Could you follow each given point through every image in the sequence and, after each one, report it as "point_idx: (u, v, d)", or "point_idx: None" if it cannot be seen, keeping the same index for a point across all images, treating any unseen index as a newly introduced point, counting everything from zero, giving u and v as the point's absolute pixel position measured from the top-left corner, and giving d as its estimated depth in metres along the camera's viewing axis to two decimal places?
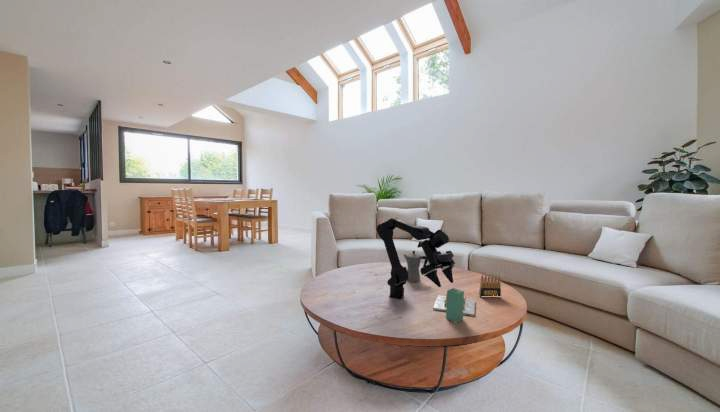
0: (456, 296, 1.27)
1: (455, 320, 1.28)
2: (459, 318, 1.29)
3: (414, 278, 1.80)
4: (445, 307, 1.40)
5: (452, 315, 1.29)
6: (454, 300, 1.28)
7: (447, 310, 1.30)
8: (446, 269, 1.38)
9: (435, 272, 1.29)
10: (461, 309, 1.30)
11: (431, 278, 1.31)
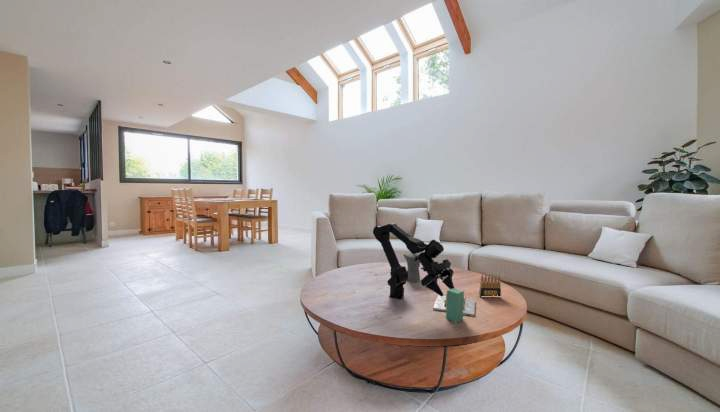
0: (456, 296, 1.27)
1: (455, 320, 1.28)
2: (459, 318, 1.29)
3: (414, 278, 1.80)
4: (445, 307, 1.40)
5: (452, 315, 1.29)
6: (454, 300, 1.28)
7: (447, 310, 1.30)
8: (446, 278, 1.39)
9: (435, 281, 1.30)
10: (461, 309, 1.30)
11: (432, 288, 1.32)
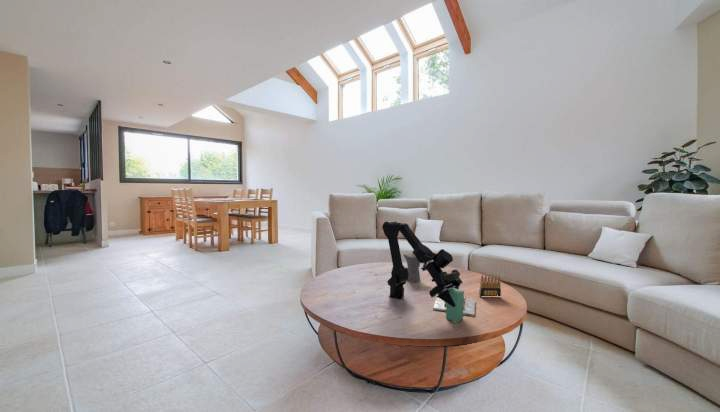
0: (456, 296, 1.27)
1: (455, 320, 1.28)
2: (459, 318, 1.29)
3: (414, 278, 1.80)
4: (445, 307, 1.40)
5: (452, 315, 1.29)
6: (454, 300, 1.28)
7: (447, 310, 1.30)
8: None
9: (447, 292, 1.28)
10: (461, 309, 1.30)
11: (444, 299, 1.30)
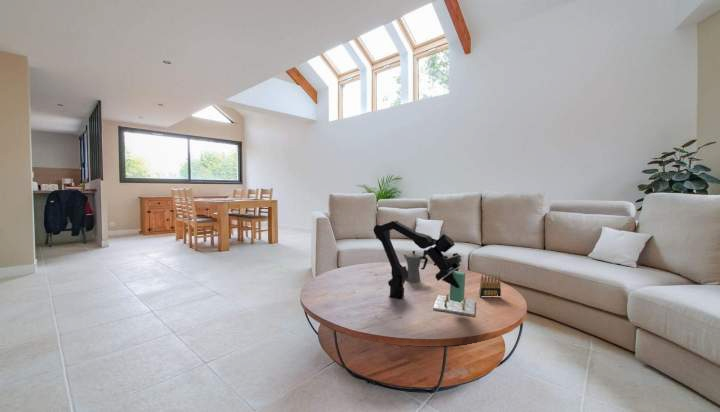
0: (460, 278, 1.34)
1: (459, 300, 1.34)
2: (462, 298, 1.36)
3: (414, 278, 1.80)
4: (445, 307, 1.40)
5: (456, 296, 1.35)
6: (459, 281, 1.34)
7: (451, 292, 1.36)
8: None
9: (452, 274, 1.34)
10: (463, 290, 1.37)
11: (448, 281, 1.35)
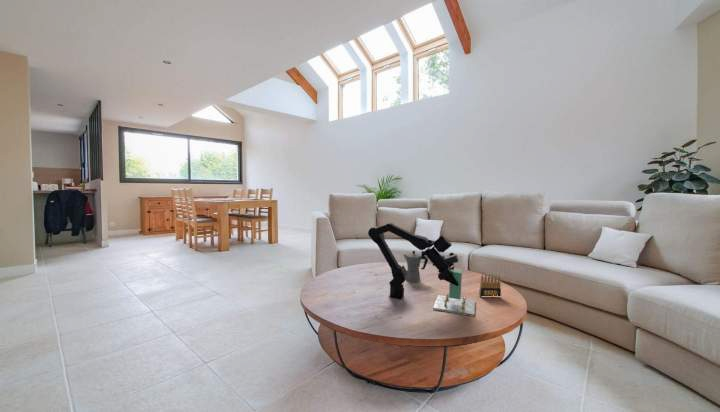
0: (460, 276, 1.41)
1: (459, 297, 1.42)
2: (460, 295, 1.44)
3: (414, 278, 1.80)
4: (445, 307, 1.40)
5: (455, 293, 1.42)
6: (458, 279, 1.41)
7: (450, 290, 1.43)
8: None
9: (452, 273, 1.41)
10: None
11: (448, 280, 1.41)
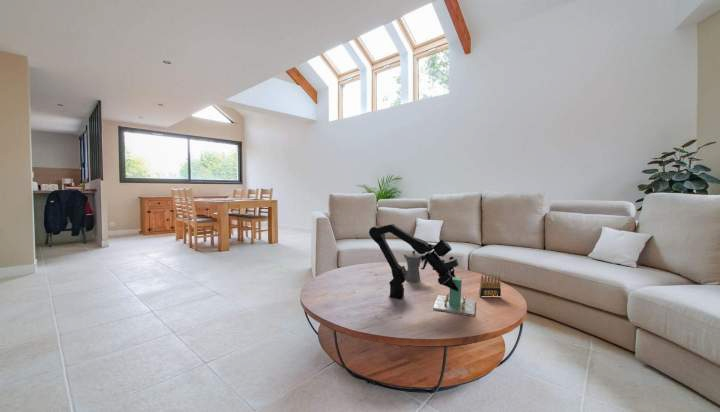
0: (459, 283, 1.41)
1: (459, 304, 1.42)
2: (460, 302, 1.44)
3: (414, 278, 1.80)
4: (445, 307, 1.40)
5: (455, 300, 1.42)
6: (458, 286, 1.42)
7: (450, 297, 1.43)
8: None
9: None
10: None
11: (448, 285, 1.40)
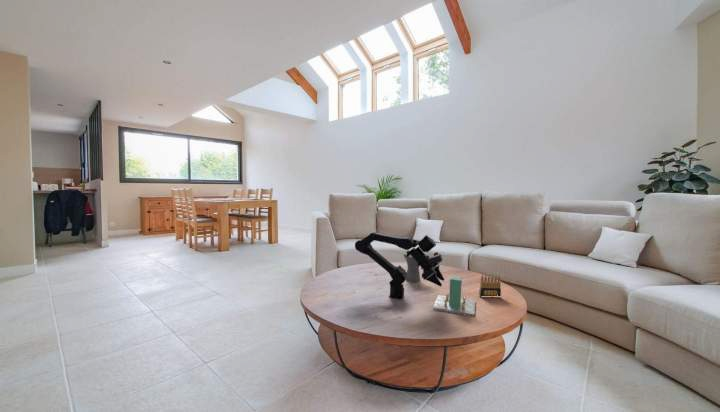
0: (459, 283, 1.41)
1: (459, 304, 1.42)
2: (460, 302, 1.44)
3: (414, 278, 1.80)
4: (445, 307, 1.40)
5: (455, 300, 1.42)
6: (458, 286, 1.42)
7: (450, 297, 1.43)
8: (434, 270, 1.53)
9: (435, 273, 1.42)
10: None
11: (432, 280, 1.43)
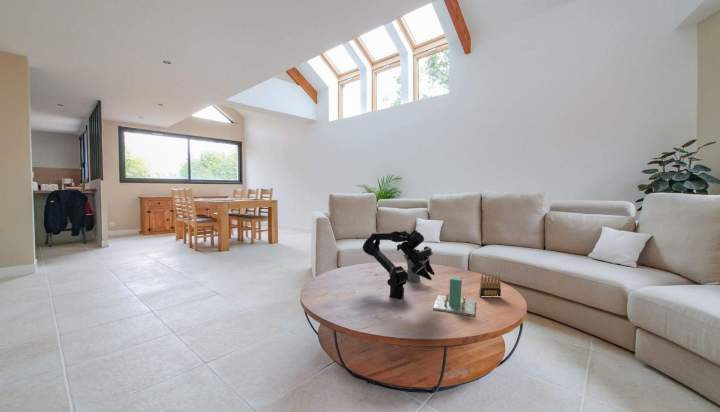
0: (459, 283, 1.41)
1: (459, 304, 1.42)
2: (460, 302, 1.44)
3: (414, 278, 1.80)
4: (445, 307, 1.40)
5: (455, 300, 1.42)
6: (458, 286, 1.42)
7: (450, 297, 1.43)
8: (425, 264, 1.51)
9: (425, 267, 1.40)
10: None
11: (421, 274, 1.41)
